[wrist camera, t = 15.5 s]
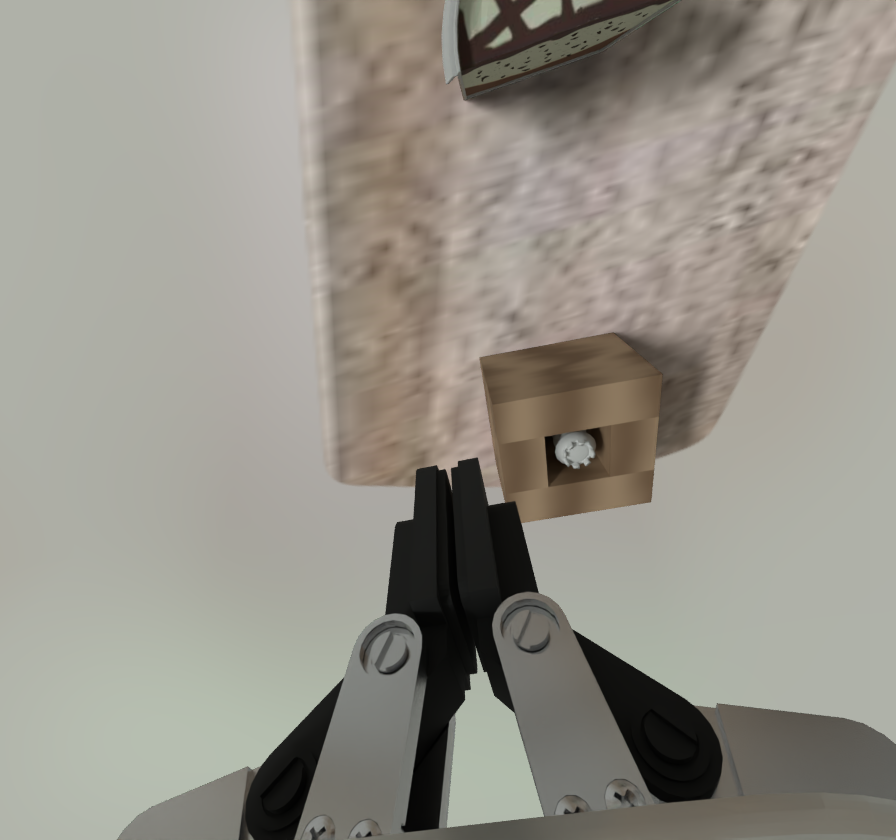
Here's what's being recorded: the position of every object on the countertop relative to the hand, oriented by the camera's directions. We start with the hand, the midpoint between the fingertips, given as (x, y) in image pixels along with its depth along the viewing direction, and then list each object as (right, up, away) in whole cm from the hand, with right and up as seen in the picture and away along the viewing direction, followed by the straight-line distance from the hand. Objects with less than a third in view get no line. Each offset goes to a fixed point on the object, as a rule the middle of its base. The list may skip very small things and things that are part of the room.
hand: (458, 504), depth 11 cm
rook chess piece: (+10, +4, +28) cm, 29 cm away
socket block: (+10, +4, +28) cm, 30 cm away
